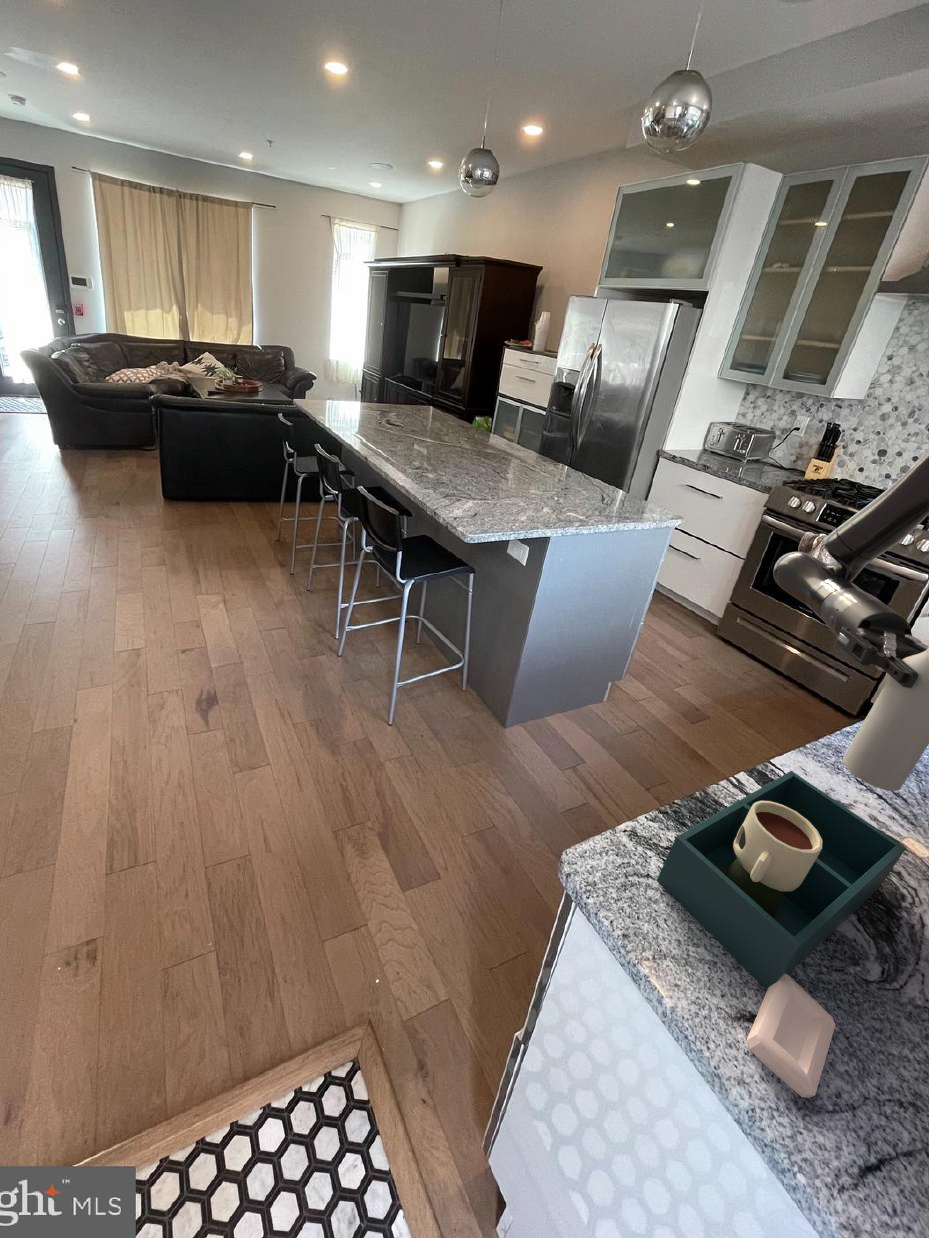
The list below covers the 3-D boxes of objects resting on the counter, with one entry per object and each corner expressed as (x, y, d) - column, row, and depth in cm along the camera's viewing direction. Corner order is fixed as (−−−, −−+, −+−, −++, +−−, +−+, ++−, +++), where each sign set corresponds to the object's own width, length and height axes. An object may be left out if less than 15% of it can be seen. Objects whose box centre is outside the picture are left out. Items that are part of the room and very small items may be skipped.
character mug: (730, 859, 72) (768, 784, 67) (789, 901, 67) (835, 824, 62) (695, 906, 65) (734, 826, 60) (758, 957, 60) (807, 875, 55)
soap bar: (822, 1028, 56) (838, 1019, 55) (799, 1106, 50) (816, 1098, 49) (771, 978, 59) (785, 968, 57) (742, 1045, 53) (757, 1036, 51)
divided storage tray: (771, 808, 82) (791, 770, 80) (878, 888, 72) (906, 848, 69) (656, 879, 68) (675, 836, 65) (769, 993, 57) (798, 947, 55)
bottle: (853, 780, 72) (966, 590, 61) (835, 748, 78) (935, 569, 67) (911, 798, 71) (1037, 606, 60) (887, 763, 77) (999, 583, 66)
